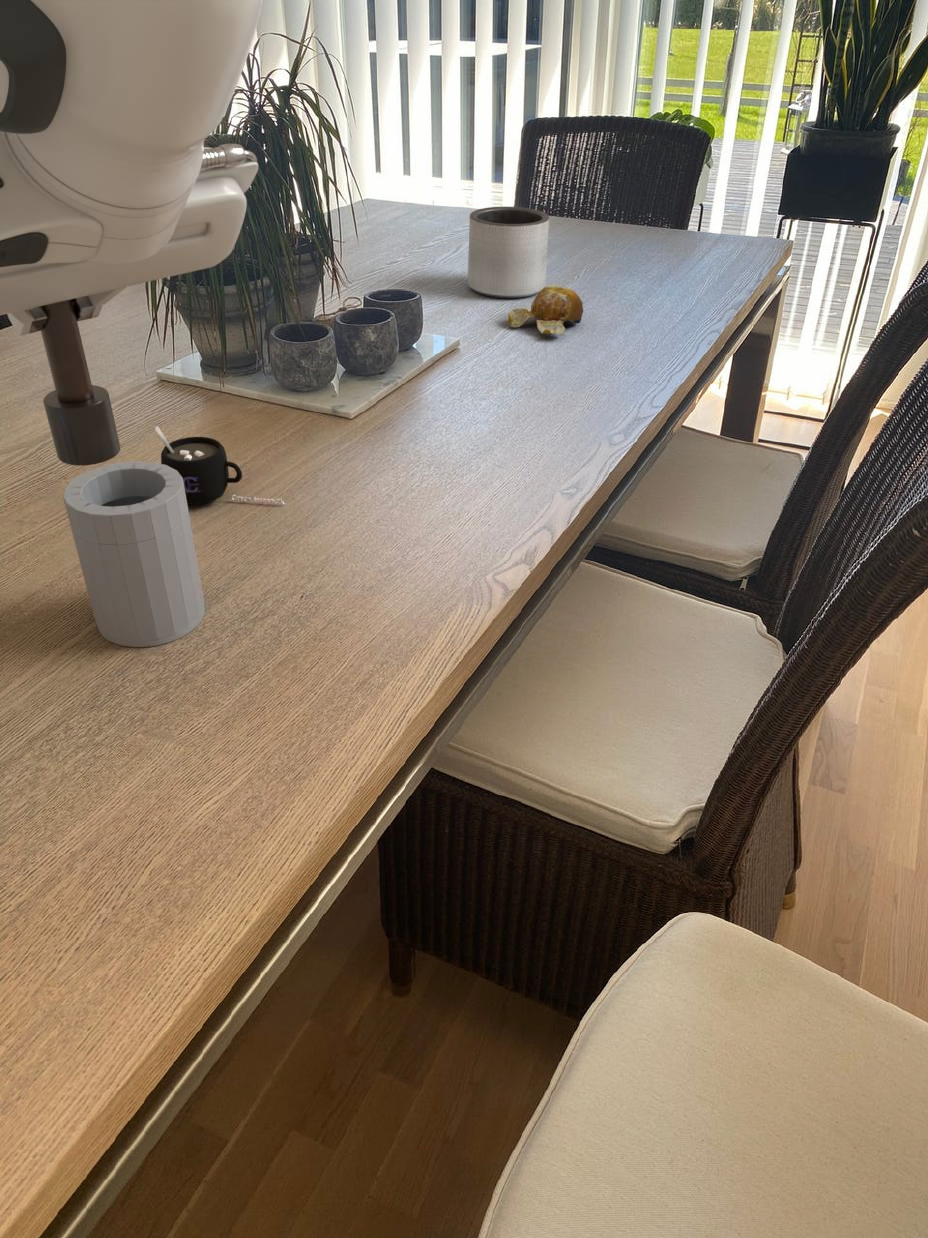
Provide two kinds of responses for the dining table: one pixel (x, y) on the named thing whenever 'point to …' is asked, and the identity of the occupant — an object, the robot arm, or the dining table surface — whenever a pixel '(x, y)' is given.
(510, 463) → the dining table surface
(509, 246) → the planter
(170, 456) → the mug
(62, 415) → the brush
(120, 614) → the gray cylindrical container
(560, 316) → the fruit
